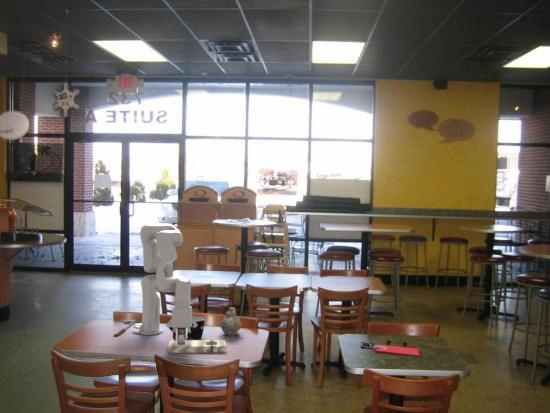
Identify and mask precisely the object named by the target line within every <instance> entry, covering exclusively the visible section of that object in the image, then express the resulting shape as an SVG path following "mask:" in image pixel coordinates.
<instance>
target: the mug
mask: <svg viewBox="0 0 550 413" xmlns="http://www.w3.org/2000/svg"><path fill="white" fill-rule="evenodd" d="M192 319H193V320H194V321H195V322H196V323H197V327H195V328H194V329H193V330H192V331H191V332H190V338H189V339H190V340H201V339H202V337H203V334H204V330H205V329H204V328H205V318H204V317H201V316H192ZM193 325H194V324H193V323H192V326H193ZM192 326H191V327H192ZM191 327H190V328H191Z"/></svg>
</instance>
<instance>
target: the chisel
mask: <svg viewBox="0 0 550 413" xmlns="http://www.w3.org/2000/svg"><path fill="white" fill-rule="evenodd" d="M120 321H122V322H123V323H124V324H128V325H127V326H126V327H124V328H122V329H120V330H119V331H118V332H117V333H114V334H113V337H117V338H118V337H120V336H122V335H123V334H124V333H126V331H127V330H128V329H129V328H130V327H132V326H134V324H137V323H139V324H140V323H142V320H138V319H129V318H128V319H120Z"/></svg>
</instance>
